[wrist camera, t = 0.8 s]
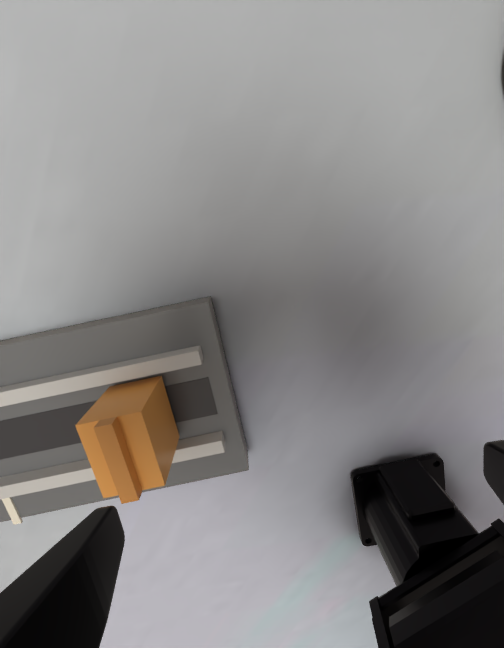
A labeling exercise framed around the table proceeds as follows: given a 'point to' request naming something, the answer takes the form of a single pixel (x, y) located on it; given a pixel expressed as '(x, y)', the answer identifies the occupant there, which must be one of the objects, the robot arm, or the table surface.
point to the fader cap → (130, 438)
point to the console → (89, 385)
